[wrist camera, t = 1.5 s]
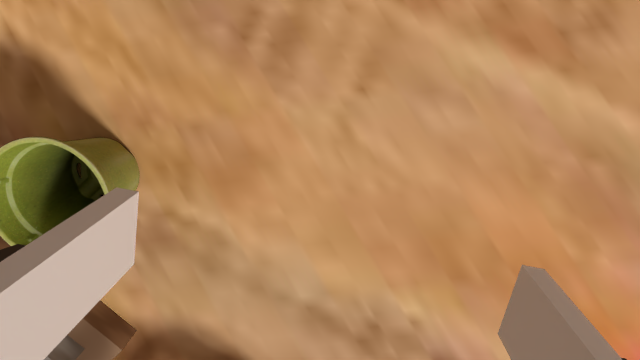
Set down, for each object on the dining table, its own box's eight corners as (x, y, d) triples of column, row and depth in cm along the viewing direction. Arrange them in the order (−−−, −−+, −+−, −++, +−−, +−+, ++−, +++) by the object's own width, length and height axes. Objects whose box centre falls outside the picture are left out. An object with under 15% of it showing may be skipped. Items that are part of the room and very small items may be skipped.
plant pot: (153, 118, 39) (101, 138, 31) (164, 221, 42) (118, 265, 33) (47, 117, 39) (-33, 136, 31) (64, 219, 42) (-5, 262, 34)
